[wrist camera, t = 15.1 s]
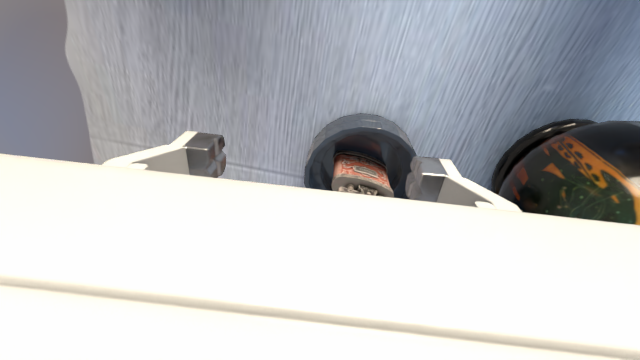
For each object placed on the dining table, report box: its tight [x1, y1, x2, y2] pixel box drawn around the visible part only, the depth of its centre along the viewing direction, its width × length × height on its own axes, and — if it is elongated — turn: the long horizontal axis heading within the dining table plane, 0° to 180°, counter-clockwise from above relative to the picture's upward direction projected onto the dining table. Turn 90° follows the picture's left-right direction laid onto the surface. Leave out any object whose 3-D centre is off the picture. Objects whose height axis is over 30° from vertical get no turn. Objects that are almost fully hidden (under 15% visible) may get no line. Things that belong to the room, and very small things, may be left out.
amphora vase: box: [492, 119, 640, 225], centre depth 32 cm, size 22×22×28 cm
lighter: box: [332, 150, 394, 198], centre depth 40 cm, size 8×3×10 cm, turn 73°
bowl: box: [304, 113, 416, 199], centre depth 42 cm, size 15×15×6 cm
